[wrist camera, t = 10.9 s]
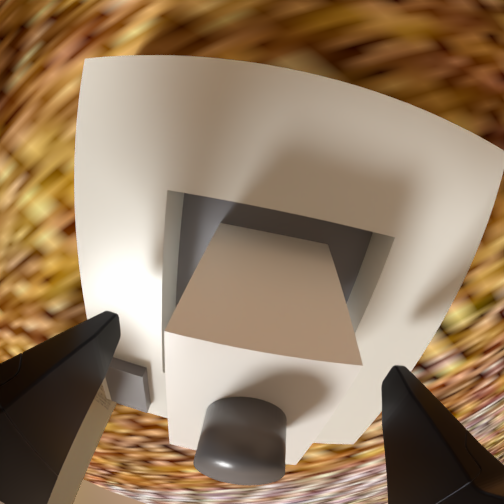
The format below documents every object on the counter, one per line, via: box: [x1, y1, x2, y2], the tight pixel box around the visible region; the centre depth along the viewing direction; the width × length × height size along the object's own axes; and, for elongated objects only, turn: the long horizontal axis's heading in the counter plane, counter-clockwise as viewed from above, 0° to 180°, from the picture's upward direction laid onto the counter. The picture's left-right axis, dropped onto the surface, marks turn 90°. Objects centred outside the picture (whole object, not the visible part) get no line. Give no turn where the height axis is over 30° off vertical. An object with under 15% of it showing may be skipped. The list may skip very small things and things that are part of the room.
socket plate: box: [74, 55, 504, 444], centre depth 11 cm, size 14×16×4 cm
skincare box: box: [47, 384, 116, 504], centre depth 13 cm, size 6×4×12 cm
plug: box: [164, 223, 363, 485], centre depth 9 cm, size 4×5×8 cm
